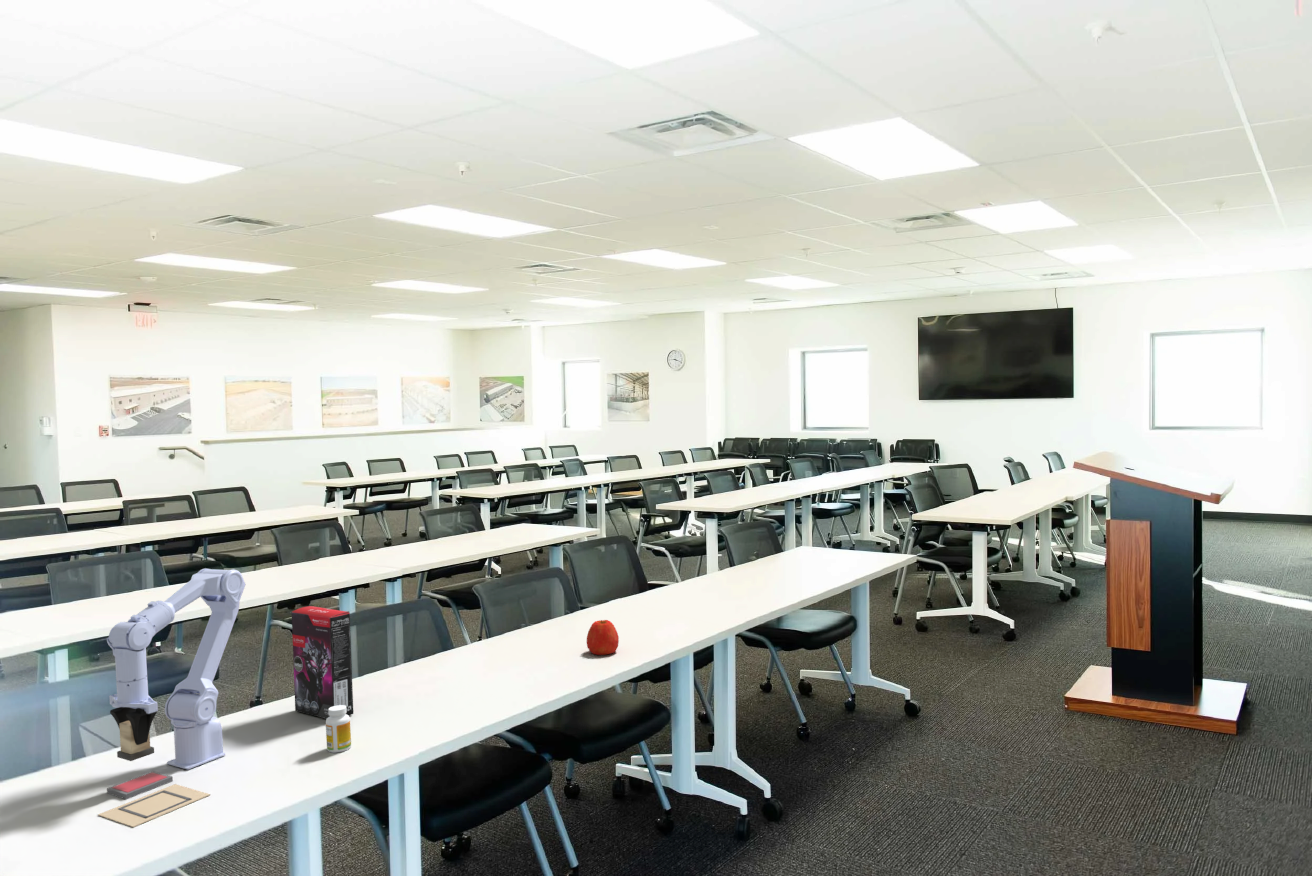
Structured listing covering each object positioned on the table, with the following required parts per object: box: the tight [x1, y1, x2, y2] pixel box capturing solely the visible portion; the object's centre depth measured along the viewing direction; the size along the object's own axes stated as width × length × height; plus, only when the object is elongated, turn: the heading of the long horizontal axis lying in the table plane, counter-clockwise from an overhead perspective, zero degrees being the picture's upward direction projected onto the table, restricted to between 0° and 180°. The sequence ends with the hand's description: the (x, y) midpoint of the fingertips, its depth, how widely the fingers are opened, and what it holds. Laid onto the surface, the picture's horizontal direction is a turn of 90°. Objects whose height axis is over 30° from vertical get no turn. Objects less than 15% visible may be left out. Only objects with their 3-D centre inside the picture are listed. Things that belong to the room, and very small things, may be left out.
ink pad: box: [106, 770, 174, 800], centre depth 192 cm, size 10×7×1 cm
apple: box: [586, 619, 620, 656], centre depth 287 cm, size 10×10×10 cm
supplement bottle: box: [325, 705, 352, 753], centre depth 211 cm, size 5×5×10 cm
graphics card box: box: [291, 605, 354, 720], centre depth 236 cm, size 17×7×27 cm, turn 56°
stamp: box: [116, 720, 155, 762], centre depth 192 cm, size 5×5×7 cm
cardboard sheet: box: [97, 783, 211, 828], centre depth 183 cm, size 16×12×1 cm
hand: (135, 741), depth 192 cm, fingers closed on stamp, 4 cm apart
